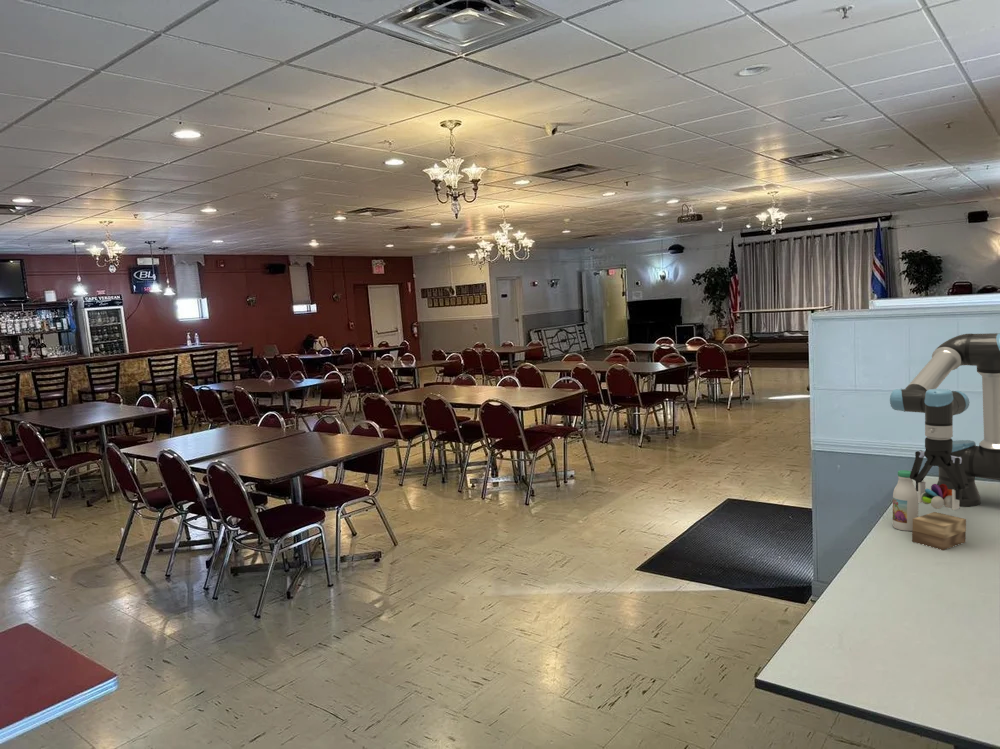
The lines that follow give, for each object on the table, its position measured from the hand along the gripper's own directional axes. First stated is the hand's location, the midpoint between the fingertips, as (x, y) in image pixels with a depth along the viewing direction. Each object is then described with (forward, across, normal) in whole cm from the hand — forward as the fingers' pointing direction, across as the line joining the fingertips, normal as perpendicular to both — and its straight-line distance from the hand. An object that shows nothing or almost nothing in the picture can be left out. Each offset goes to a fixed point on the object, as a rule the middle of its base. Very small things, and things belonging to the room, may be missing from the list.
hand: (938, 505), depth 226 cm
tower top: (+9, 0, 0) cm, 9 cm away
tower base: (+13, 0, 0) cm, 13 cm away
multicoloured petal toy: (0, 0, 0) cm, 0 cm away
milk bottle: (+12, -14, +5) cm, 19 cm away
